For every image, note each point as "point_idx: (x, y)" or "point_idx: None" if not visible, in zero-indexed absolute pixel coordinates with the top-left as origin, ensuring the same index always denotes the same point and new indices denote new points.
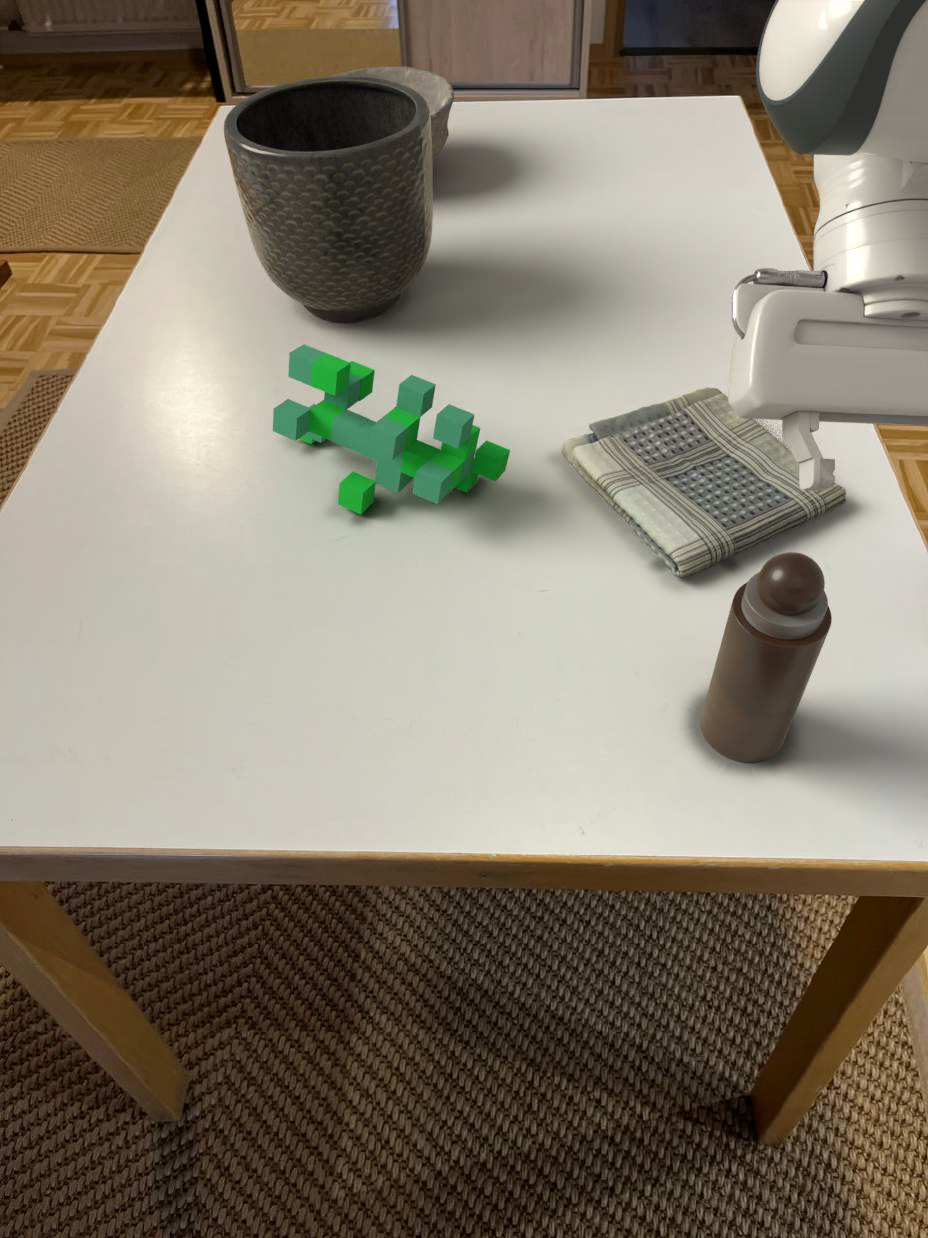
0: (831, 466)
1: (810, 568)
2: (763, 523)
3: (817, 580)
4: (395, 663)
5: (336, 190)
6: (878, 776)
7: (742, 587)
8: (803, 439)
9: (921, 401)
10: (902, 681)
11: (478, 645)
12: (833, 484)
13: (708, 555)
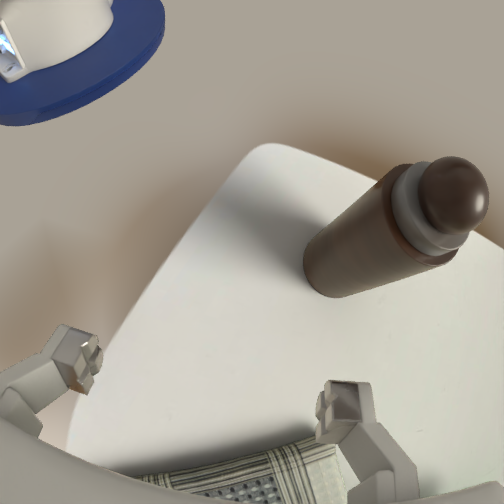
0: (340, 407)
1: (467, 167)
2: (226, 475)
3: (453, 159)
4: (496, 370)
5: None
6: (253, 192)
7: (451, 257)
8: (402, 451)
9: (107, 494)
10: (178, 265)
11: (464, 380)
12: (329, 381)
13: (300, 447)
